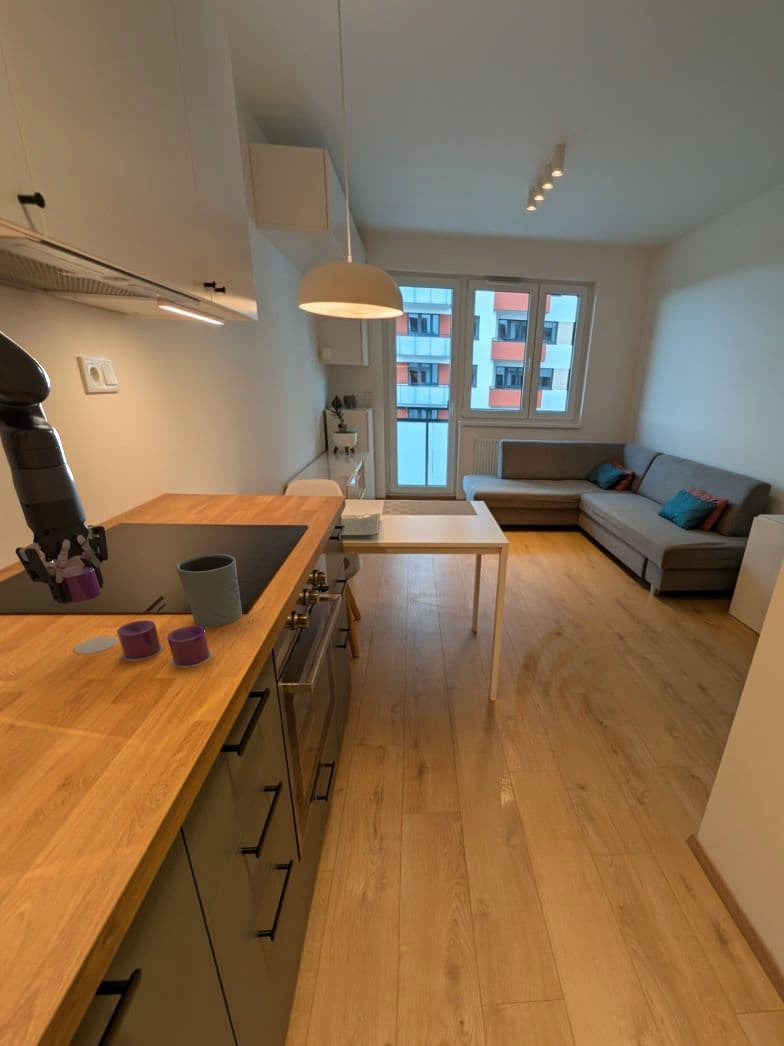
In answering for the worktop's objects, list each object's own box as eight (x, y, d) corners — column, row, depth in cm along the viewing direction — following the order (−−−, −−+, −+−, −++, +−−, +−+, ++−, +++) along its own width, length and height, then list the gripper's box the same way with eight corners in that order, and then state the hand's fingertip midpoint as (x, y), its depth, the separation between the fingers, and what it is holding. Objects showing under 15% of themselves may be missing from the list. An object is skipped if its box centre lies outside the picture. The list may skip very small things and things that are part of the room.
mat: (49, 662, 84) (48, 659, 84) (108, 630, 95) (107, 627, 95) (185, 682, 79) (185, 678, 79) (231, 645, 90) (231, 642, 90)
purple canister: (165, 663, 83) (159, 639, 82) (188, 647, 88) (183, 624, 87) (195, 667, 82) (189, 643, 80) (216, 651, 87) (212, 627, 85)
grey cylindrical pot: (244, 626, 97) (234, 568, 92) (186, 634, 94) (172, 574, 89) (245, 606, 106) (236, 551, 101) (192, 612, 102) (179, 556, 98)
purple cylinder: (52, 601, 83) (43, 575, 81) (82, 588, 88) (74, 564, 86) (81, 604, 82) (72, 578, 80) (109, 591, 87) (102, 566, 85)
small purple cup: (115, 657, 85) (108, 633, 83) (141, 641, 90) (134, 618, 88) (144, 661, 84) (137, 637, 82) (168, 645, 89) (162, 622, 87)
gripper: (70, 484, 85) (98, 578, 92) (-19, 504, 72) (21, 611, 79) (107, 487, 84) (133, 581, 91) (23, 507, 71) (61, 615, 78)
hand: (80, 594), depth 85 cm, fingers closed on purple cylinder, 5 cm apart
